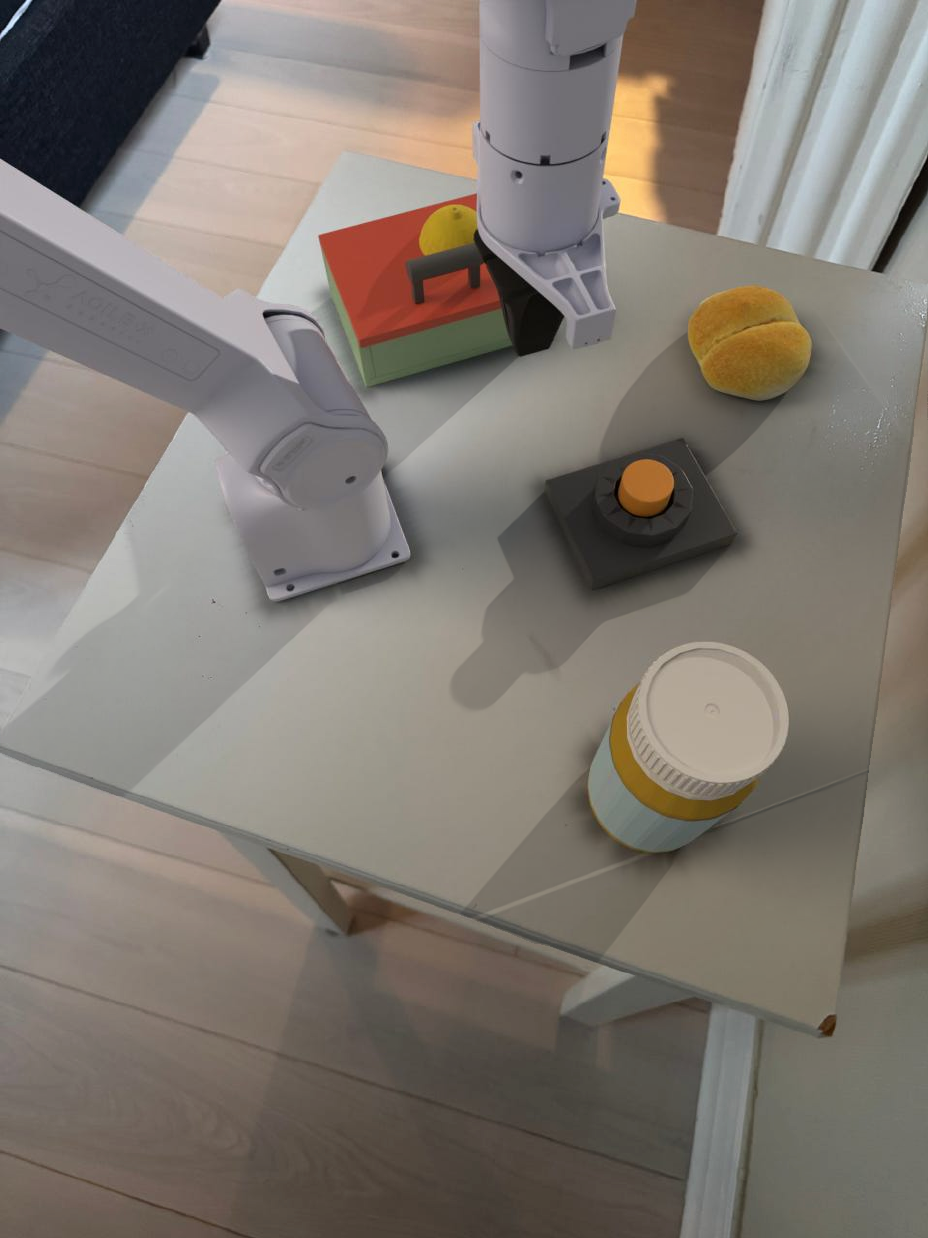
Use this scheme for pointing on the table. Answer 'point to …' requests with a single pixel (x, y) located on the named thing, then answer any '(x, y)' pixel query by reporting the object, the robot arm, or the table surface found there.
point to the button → (645, 488)
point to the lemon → (448, 229)
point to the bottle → (686, 746)
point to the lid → (405, 277)
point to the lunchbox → (422, 343)
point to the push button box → (637, 517)
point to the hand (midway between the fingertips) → (530, 344)
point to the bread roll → (749, 342)
